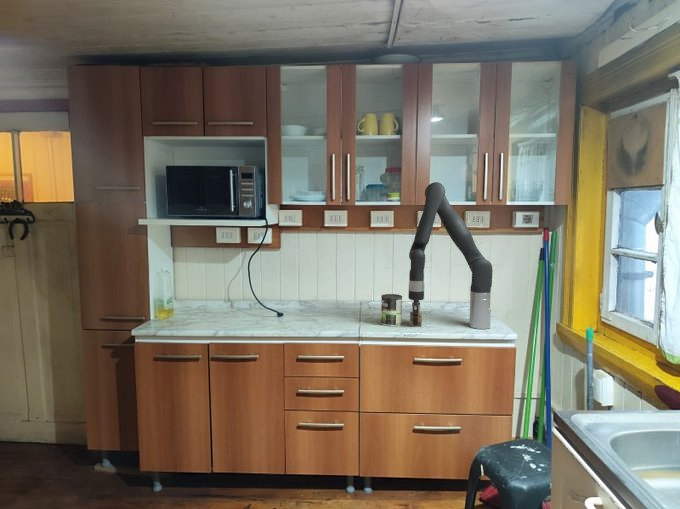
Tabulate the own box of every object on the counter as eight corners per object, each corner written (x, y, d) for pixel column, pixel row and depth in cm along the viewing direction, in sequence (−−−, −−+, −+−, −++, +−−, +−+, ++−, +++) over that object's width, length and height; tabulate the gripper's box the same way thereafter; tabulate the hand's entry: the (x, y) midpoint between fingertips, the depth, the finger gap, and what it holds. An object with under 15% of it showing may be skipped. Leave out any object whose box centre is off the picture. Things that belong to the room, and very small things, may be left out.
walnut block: (421, 324, 209) (421, 312, 209) (421, 326, 204) (421, 314, 203) (410, 323, 210) (410, 311, 210) (409, 326, 205) (410, 314, 204)
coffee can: (386, 327, 203) (386, 298, 202) (377, 322, 213) (377, 294, 212) (405, 325, 206) (406, 297, 205) (396, 320, 216) (396, 293, 215)
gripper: (423, 292, 198) (423, 327, 199) (424, 287, 212) (423, 320, 213) (407, 291, 199) (407, 326, 201) (409, 286, 213) (408, 319, 215)
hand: (415, 323), depth 207 cm, fingers closed on walnut block, 5 cm apart
